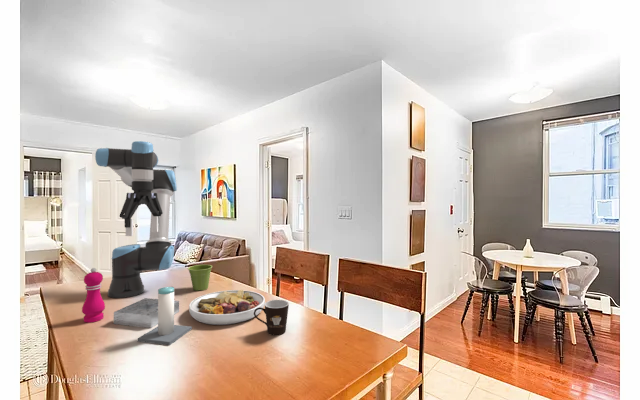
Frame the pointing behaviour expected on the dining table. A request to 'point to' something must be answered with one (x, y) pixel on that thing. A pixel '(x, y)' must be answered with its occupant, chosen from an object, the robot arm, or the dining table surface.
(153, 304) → the housing
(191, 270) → the plant pot
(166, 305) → the plug
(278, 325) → the coffee mug
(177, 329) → the pad
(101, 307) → the pepper mill
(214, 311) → the bowl
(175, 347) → the dining table surface
